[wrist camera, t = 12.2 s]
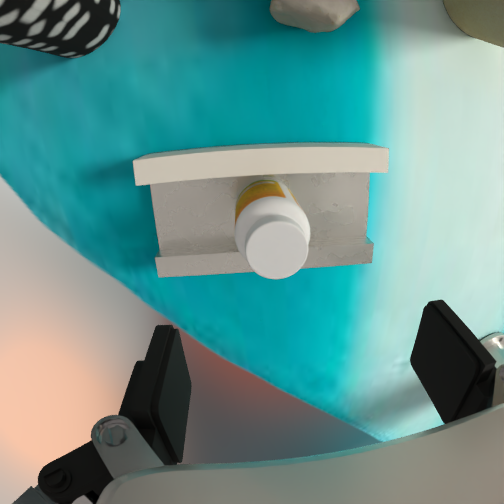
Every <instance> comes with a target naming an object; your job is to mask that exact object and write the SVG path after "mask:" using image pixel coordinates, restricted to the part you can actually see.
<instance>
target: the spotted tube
mask: <svg viewBox="0 0 504 504" xmlns="http://www.w3.org/2000/svg"><path fill="white" fill-rule="evenodd" d="M119 16H120V1H119V0H0V43H3V44H8V45H13V46H18V47H23V48H28V49H32V50H37V51H41V52H45V53H49V54H54V55H58V56H61V57H66V58H77V57H81V56H84V55H86V54H89V53H91V52H93V51H94V50H95V49H97V48H98V47H100V46H101V45H102V44H103V43H104V42H105V41H106V40H107V39H108V37H109V36H110V35H111V34H112V32H113V30H114V29H115V27H116V25H117V22H118V20H119Z"/></svg>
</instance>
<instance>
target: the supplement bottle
mask: <svg viewBox="0 0 504 504" xmlns="http://www.w3.org/2000/svg"><path fill="white" fill-rule="evenodd" d="M309 240H310V225H309V222H308V219H307V217H306V215H305V213H304V211H303V210H302V208H301V206H300V205H299V203H298V202H297V200H296V198H295V197H294V195H293V194H292V192H291V191H290V190H289V189H288V188H287V187H286V186H285V185H284V184H282V183H280V182H278V181H275V180H271V179H262V180H257V181H254V182H252V183H250V184H249V185H247V186H246V187H245V188H244V189H243V190H242V191H241V193H240V194H239V196H238V198H237V201H236V206H235V241H236V245H237V248H238V250H239V252H240V253H241V255H242V256H243V257H244V258H245V259H246V260H247V262H248V264H249V265H250V267H251V268H252V269H253V270H254V271H255V272H256V273H257V274H259V275H261V276H263V277H266V278H270V279H282V278H286V277H288V276H291V275H293V274H294V273H296V272H297V271H298V270H299V269H300V268H301V267H302V266H303V264H304V263H305V261H306V259H307V255H308V244H309Z"/></svg>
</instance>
